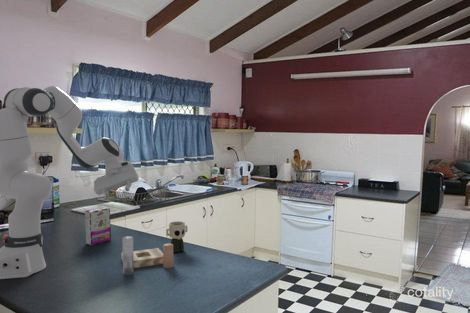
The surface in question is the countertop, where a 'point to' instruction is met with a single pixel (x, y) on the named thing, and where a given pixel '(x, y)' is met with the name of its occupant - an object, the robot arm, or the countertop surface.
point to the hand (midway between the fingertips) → (117, 193)
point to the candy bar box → (97, 225)
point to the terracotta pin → (168, 255)
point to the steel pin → (128, 255)
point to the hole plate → (146, 257)
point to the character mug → (177, 235)
